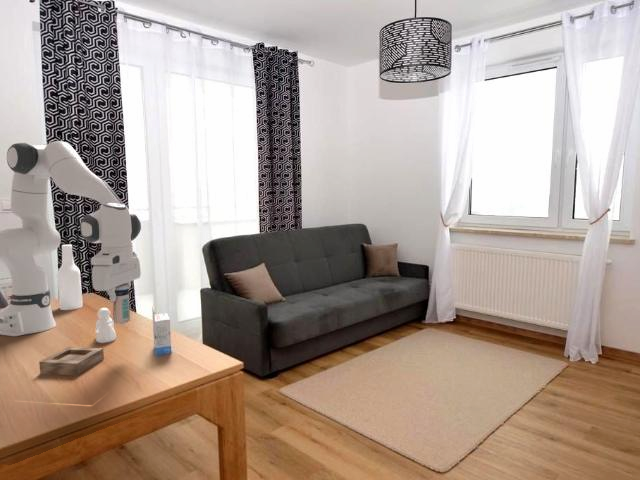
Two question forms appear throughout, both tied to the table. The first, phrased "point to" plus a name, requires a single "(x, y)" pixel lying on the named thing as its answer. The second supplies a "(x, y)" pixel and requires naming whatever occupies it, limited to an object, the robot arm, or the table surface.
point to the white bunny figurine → (105, 327)
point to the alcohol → (69, 281)
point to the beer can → (121, 305)
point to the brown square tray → (71, 361)
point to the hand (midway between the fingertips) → (119, 298)
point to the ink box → (161, 333)
